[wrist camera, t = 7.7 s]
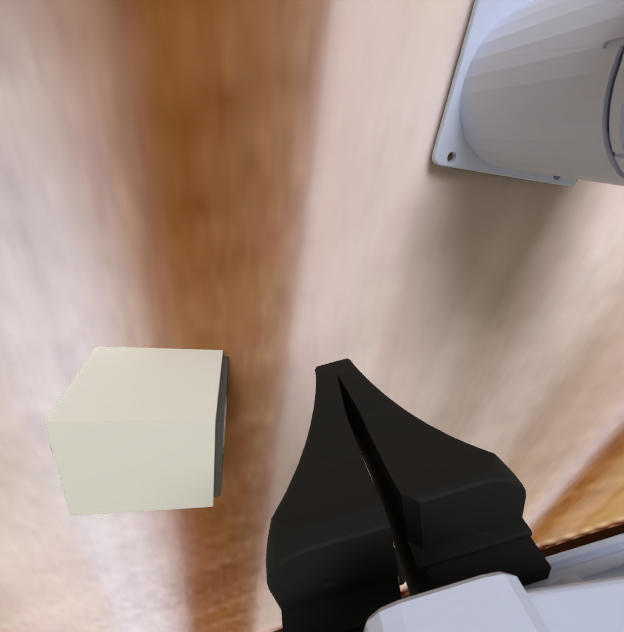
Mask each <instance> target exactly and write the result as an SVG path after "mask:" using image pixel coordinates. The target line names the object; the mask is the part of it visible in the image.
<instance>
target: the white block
mask: <svg viewBox="0 0 624 632" xmlns="http://www.w3.org/2000/svg"><path fill="white" fill-rule="evenodd" d="M228 360H229V357H223V350H197V349H165V348H133V347H100V346H96V347H95V349H94V350H93V352H92V353H91V354H90V356H89V357H88V359H87V360H86V362H85V363H84V365H83V366H82V367H81V369H80V370H79V372H78V373H77V375H76V376H75V378H74V379H73V380H72V382H71V383H70V385H69V386H68V388H67V389H66V391H65V392H64V393H63V395H62V396H61V398H60V399H59V401H58V402H57V404H56V405H55V406H54V408H53V409H52V411H51V412H50V414H49V415H48V417H47V418H46V419H45V421H44V423H45V427H46V430H47V434H48V438H49V441H50V445H51V448H52V452H53V456H54V459H55V463H56V467H57V470H58V474H59V478H60V481H61V485H62V488H63V492H64V496H65V499H66V503H67V507H68V510H69V514H70V516H73V515H88V514H104V513H120V512H136V511H152V510H167V509H183V508H199V507H213V500H214V497H215V496H220V495H221V481H222V467H223V431H224V414H225V401H226V394H227V382H228Z"/></svg>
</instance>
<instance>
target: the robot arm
mask: <svg viewBox="0 0 624 632" xmlns="http://www.w3.org/2000/svg"><path fill="white" fill-rule="evenodd" d="M450 152H452V154H453V157H452V159H451V160H450V161H449V162H448V160H447V156H448V154H449V153H450ZM432 161H433V162H434V164H436V165H440V166H446V167H452V168H458V169H464V170H470V171H476V172H482V173H489V174H495V175H501V176H507V177H513V178H519V179H525V180H531V181H537V182H543V183H549V184H556V185H562V186H571V185H573V184H574V183H575V182H576V181H577V179H581V180H587V181H594V182H600V183H607V184H614V185H620V186H624V0H475V2H474V6H473V9H472V13H471V17H470V20H469V24H468V27H467V31H466V35H465V38H464V42H463V45H462V49H461V52H460V56H459V60H458V63H457V67H456V70H455V74H454V78H453V81H452V85H451V88H450V92H449V95H448V99H447V103H446V106H445V110H444V113H443V117H442V121H441V124H440V128H439V131H438V135H437V139H436V142H435V146H434V149H433V153H432ZM554 176H556V177H555V178H554ZM315 373H316V394H315V403H314V410H313V415H312V420H311V425H310V429H309V433H308V437H307V440H306V443H305V447H304V450H303V452H302V455H301V458H300V461H299V464H298V466H297V469H296V471H295V473H294V475H293V478H292V480H291V482H290V484H289V487H288V489H287V491H286V493H285V495H284V497H283V499H282V500H281V502H280V504H279V506H278V508H277V510H276V511H275V513H274V515H273V517H272V519H271V524H270V529H269V535H268V542H267V553H266V572H267V584H268V587H269V590H270V592H271V593H272V595H273V597H274V598H275V600H276V602H277V603H278V605H279V607H280V608H281V611H282V625H283V632H624V533H623V534H620V535H617V536H614V537H610V538H607V539H604V540H601V541H598V542H594V543H591V544H587V545H584V546H581V547H578V548H575V549H571V550H568V551H565V552H561V553H558V554H555V555H551V556H548V557H544V555H543V554H542V553H541V551H540V550H539V548H538V547H537V545H536V544H535V542H534V541H533V540H532V538H531V537H530V536H532V532H531V529H530V528H529V527H528V525H527V524H526V522H525V521H524V520H523V518H522V515H523V510H524V504H525V499H526V490H525V488H524V487H523V485H522V483H521V482H520V481H519V479H518V478H517V477H516V476H515V474H514V473H513V472H512V471H511V470H510V469H509V468H508V467H507V466H506V465H505V464H504V463H503V462H502V461H501V460H500V459H499V458H498V457H497V456H496V455H495V454H494V453H491V452H488V451H486V450H483V449H480V448H478V447H475V446H472V445H470V444H467V443H465V442H462V441H460V440H458V439H456V438H454V437H451V436H449V435H447V434H446V433H444V432H442V431H440V430H438V429H436V428H434V427H432V426H430V425H428V424H427V423H425V422H423V421H422V420H420V419H418V418H417V417H415V416H414V415H412V414H411V413H409V412H407V411H406V410H404V409H403V408H402V407H400V406H399V405H398V404H396V403H395V402H394V401H392V400H391V399H390V398H388V397H387V396H386V395H385V394H384V393H382V392H381V391H380V390H379V389H378V388H377V387H376V386H374V385H373V384H372V383H371V382H370V381H369V380H368V379H367V378H366V377H365V376H364V375H363V374H362V373H361V372H360V371H359V370H358V369H357V368H356V367H355V365H354V364H353V363H352V362H351V360H349V359H343V360H339V361H336V362H332V363H328V364H325V365H321V366H317V367H316V369H315ZM361 454H362V455H361ZM363 459H364V460H363ZM364 461H365V462H364ZM365 463H366V465H365ZM366 466H367V467H366ZM367 468H368V470H369V472H368V470H367ZM369 473H370V474H369ZM370 475H371V477H370ZM371 478H372V479H371ZM372 480H373V481H372ZM373 483H374V484H373ZM393 543H394V545H393ZM394 546H395V549H396V552H397V555H398V558H399V561H400V564H401V567H402V571H403V574H404V577H405V580H406V583H407V586H408V589H409V593H410V596H411V597H408V598H405V599H401V592H400V586H399V580H398V576H399V575H398V569H397V563H396V557H395V551H394Z"/></svg>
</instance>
